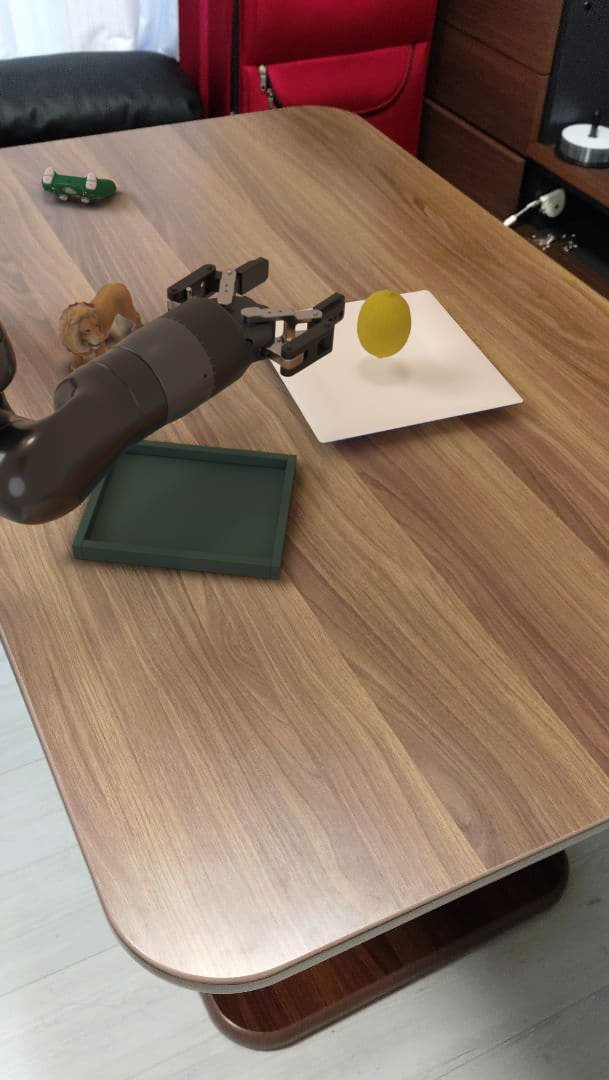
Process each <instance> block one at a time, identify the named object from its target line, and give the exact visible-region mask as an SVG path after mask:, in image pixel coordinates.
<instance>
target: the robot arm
mask: <svg viewBox="0 0 609 1080" xmlns="http://www.w3.org/2000/svg"><path fill="white" fill-rule="evenodd" d="M269 267H270V260H268V258H266V257H263V256H259V257H257V258H256V259H250V260H247V261H246V262H245V263H243V264H241V265H240V266H238V267H236V268H234V269H233V268H224V269H223V270H221V271H220V270H217V266H216V265H215V264H212V263H206V264H202V265H201V266H200V267H198V268H196V269H194V271H192V272H190V273H189V274H187V275H185V276H184V277H182V278H181V279H179V280H178V281H176V282H175V283H173V284H172V285H170V286H168V287H167V288H166V305H167V306H166V307H167V311H166V312H165V313H163V314H161V315H160V316H158V317H156V318H154V319H152V320H150V322H147V323H146V324H144V325H142V327H141V328H139V329H137V330H135V331H134V332H130V333H129V334H128V335H127V336H125V337H124V338H122V339H121V340H120V341H119V342H118V343H117V344H116V345H114V346H112V347H111V348H110V349H107V350H105V352H104V353H102V354H101V355H99V356H97V357H96V356H95V357H94V358H91V360H89V361H87V362H85V363H83V365H82V366H80V367H79V368H77V369H76V370H74V371H71V372H70V373H68V374H67V375H66V376H64V377H63V378H62V379H61V380H60V382H59V383H58V384H57V386H56V388H55V390H54V393H53V399H52V401H53V403H52V405H53V411H54V412H53V413H51V414H50V415H47V416H45V417H43V418H40V419H37V420H34V419H32V418H28V417H25V416H20V415H18V414H16V413H15V411H14V410H13V408H12V407H11V405H10V404H9V402H8V399H7V398H6V394H5V390H6V389H7V388H8V387H9V386H11V384H12V382H13V381H14V379H15V376H16V373H17V368H18V365H17V364H18V363H17V362H18V361H17V357H16V353H15V350H14V346H13V344H12V341H11V340H10V337H9V335H8V333H7V330H6V328H5V326H4V323H3V321H2V319H1V318H0V517H1V518H4V519H5V520H7V521H10V522H13V523H16V524H19V525H25V526H40V525H44V524H48V523H50V522H54V521H57V520H59V519H61V518H63V517H65V516H67V515H69V514H70V513H72V512H73V511H74V510H76V509H77V508H78V507H79V506H80V505H82V504H83V503H84V501H85V500H87V499H88V498H89V497H90V495H91V492H92V491H93V490H94V489H95V488H96V487H97V485H98V484H99V483H100V482H101V481H102V480H103V478H104V477H105V476H106V475H107V474H108V473H109V472H110V470H111V469H112V468H113V467H114V465H115V464H116V463H117V461H118V460H119V459H120V457H121V456H122V454H123V453H124V452H125V451H126V450H128V449H130V448H132V447H133V446H135V445H136V444H138V443H139V442H141V441H142V440H146V438H149V437H150V436H151V435H153V434H154V433H156V432H157V431H159V430H160V429H162V428H164V427H165V426H167V425H169V424H172V423H173V422H176V421H178V420H180V419H182V418H184V417H185V416H187V415H188V414H190V413H191V412H193V411H194V410H196V409H197V408H199V407H201V406H203V404H206V403H207V402H208V401H210V400H211V399H212V398H214V397H216V396H217V395H219V394H220V393H221V392H222V391H224V390H226V389H227V388H228V387H230V386H232V385H233V384H235V383H236V382H238V381H239V380H240V379H241V378H242V377H243V375H244V374H245V373H246V371H247V370H248V369H249V367H250V366H251V365H252V364H253V363H256V362H260V361H265V360H267V359H268V360H270V359H271V360H272V361H274V362H276V363H277V364H279V365H280V374H281V375H282V376H284V377H291V376H293V375H295V374H297V373H298V372H300V371H301V370H303V369H305V368H306V367H308V366H310V365H311V364H313V363H314V362H316V361H318V360H319V359H321V358H322V357H324V356H326V355H327V354H329V353H331V352H332V350H333V340H334V329H335V324H337V323H338V322H340V321H341V320H343V318H344V312H345V303H346V296H345V295H344V294H343V293H340V292H338V291H336V292H334V293H333V294H331V295H329V296H328V297H326V298H325V299H324V300H322V301H321V302H319V303H318V304H315V305H314V306H313V307H312V308H313V309H312V310H305V309H300V310H301V311H299V310H294V308H293V307H291V306H279V307H270V306H267V305H265V304H261V303H257V302H256V300H254V299H253V298H251V297H249V296H247V295H245V294H247V293H249V292H250V291H252V290H254V289H256V288H257V287H259V286H261V284H263V283H266V281H267V280H268V279H269V271H270V270H269V269H270V268H269ZM216 293H218V294H217V297H212V296H214V295H216ZM237 294H238V295H237ZM276 321H284V324H283V334H282V335H281V336H280V337H275V333H276ZM300 323H307V330H300V331H295V328H296V325H297V324H300ZM271 360H270V361H271Z"/></svg>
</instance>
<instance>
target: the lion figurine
mask: <svg viewBox="0 0 609 1080" xmlns="http://www.w3.org/2000/svg"><path fill="white" fill-rule="evenodd" d="M117 315H120V316H122V317H123V318H124V319H126V320H128V321H130V322H133V325H132V327H131V330H130V331H131V332H130V333H132V332H134V331H135V330H137V329H139V328H141V327H142V326H143V325H142V320H141V318H142V317H141V315H140V312H139V311H137V310H136V309H135V305H134V303H133V299H132V295H131V292H130V290H129V289H128V287H127V286H126V285H125V284H123V283H121V282H113V283H109V284H105V285H103V286H102V287H101V288H99V290H98V292H97V293H96V294H95V296H94V297H93V298H92V299H91V300H90V301H89V302H87V301H81V302H78V301H76V302H75V303H71V304H69V305H68V306H67V307H66V308H64V309H63V311H62V314H61V315H60V317H59V322H58V323H59V329H58V331H59V338H60V341H61V344H62V345H63V346H64V347H65V349H66V351H67V352H69V353H71V354H72V357H73V359H74V363H72V364H71V366H70V369H71V372H73V371H74V370H76V369H77V368H79V367H80V366H82V365H84V357H88V356H91V355H92V354H93V353H94V354H95V358H96V357H97V356H99V355H101V354H102V353H104V352H106V344H105V343H106V342H105V341H106V340H107V339H109V336H110V333H111V329H112V327H113V324H114V322H115V319H116V316H117Z"/></svg>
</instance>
